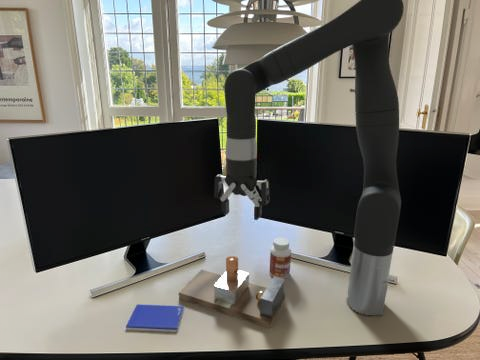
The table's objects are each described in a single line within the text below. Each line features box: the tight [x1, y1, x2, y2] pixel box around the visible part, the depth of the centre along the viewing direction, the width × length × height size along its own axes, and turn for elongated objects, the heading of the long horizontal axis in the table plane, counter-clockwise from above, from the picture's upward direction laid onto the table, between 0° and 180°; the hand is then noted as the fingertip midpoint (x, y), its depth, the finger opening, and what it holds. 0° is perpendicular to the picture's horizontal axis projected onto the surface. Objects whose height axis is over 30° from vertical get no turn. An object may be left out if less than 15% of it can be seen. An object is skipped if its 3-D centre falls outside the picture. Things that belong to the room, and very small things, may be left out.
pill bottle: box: [268, 237, 292, 279], centre depth 102 cm, size 6×6×11 cm
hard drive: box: [125, 303, 185, 333], centre depth 85 cm, size 2×8×12 cm
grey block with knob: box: [256, 276, 286, 319], centre depth 87 cm, size 6×10×5 cm, turn 156°
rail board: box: [178, 269, 286, 329], centre depth 92 cm, size 26×12×2 cm, turn 66°
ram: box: [214, 255, 250, 305], centre depth 90 cm, size 6×9×10 cm, turn 156°
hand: (241, 216), depth 88 cm, fingers open, 8 cm apart
